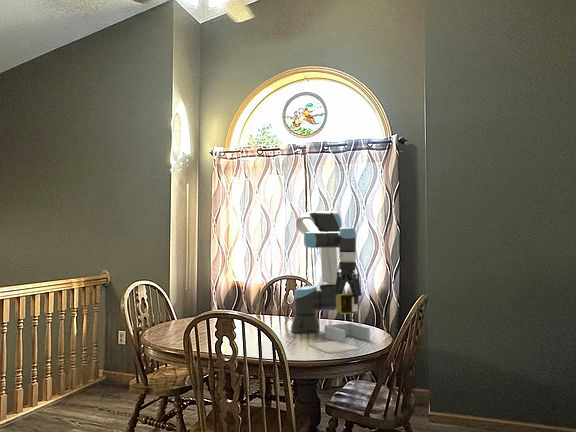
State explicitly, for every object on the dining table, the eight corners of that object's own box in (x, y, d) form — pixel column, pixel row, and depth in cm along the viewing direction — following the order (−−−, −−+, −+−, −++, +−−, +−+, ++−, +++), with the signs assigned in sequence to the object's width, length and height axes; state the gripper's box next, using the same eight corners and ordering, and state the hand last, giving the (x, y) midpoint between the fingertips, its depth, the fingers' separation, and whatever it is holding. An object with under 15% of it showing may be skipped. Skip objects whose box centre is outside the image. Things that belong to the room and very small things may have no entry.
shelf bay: (324, 337, 260) (324, 325, 260) (350, 334, 268) (350, 322, 268) (343, 343, 246) (343, 330, 246) (369, 340, 254) (369, 328, 254)
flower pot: (332, 312, 244) (340, 314, 235) (331, 293, 245) (340, 294, 236) (349, 311, 247) (358, 313, 238) (348, 293, 248) (357, 293, 239)
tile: (307, 345, 243) (307, 344, 243) (336, 341, 250) (336, 340, 250) (329, 353, 227) (329, 352, 227) (359, 349, 235) (359, 348, 235)
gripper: (326, 260, 250) (326, 307, 250) (356, 263, 231) (356, 313, 230) (339, 259, 254) (339, 305, 254) (369, 262, 234) (369, 312, 234)
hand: (347, 309), depth 242 cm, fingers closed on flower pot, 10 cm apart
